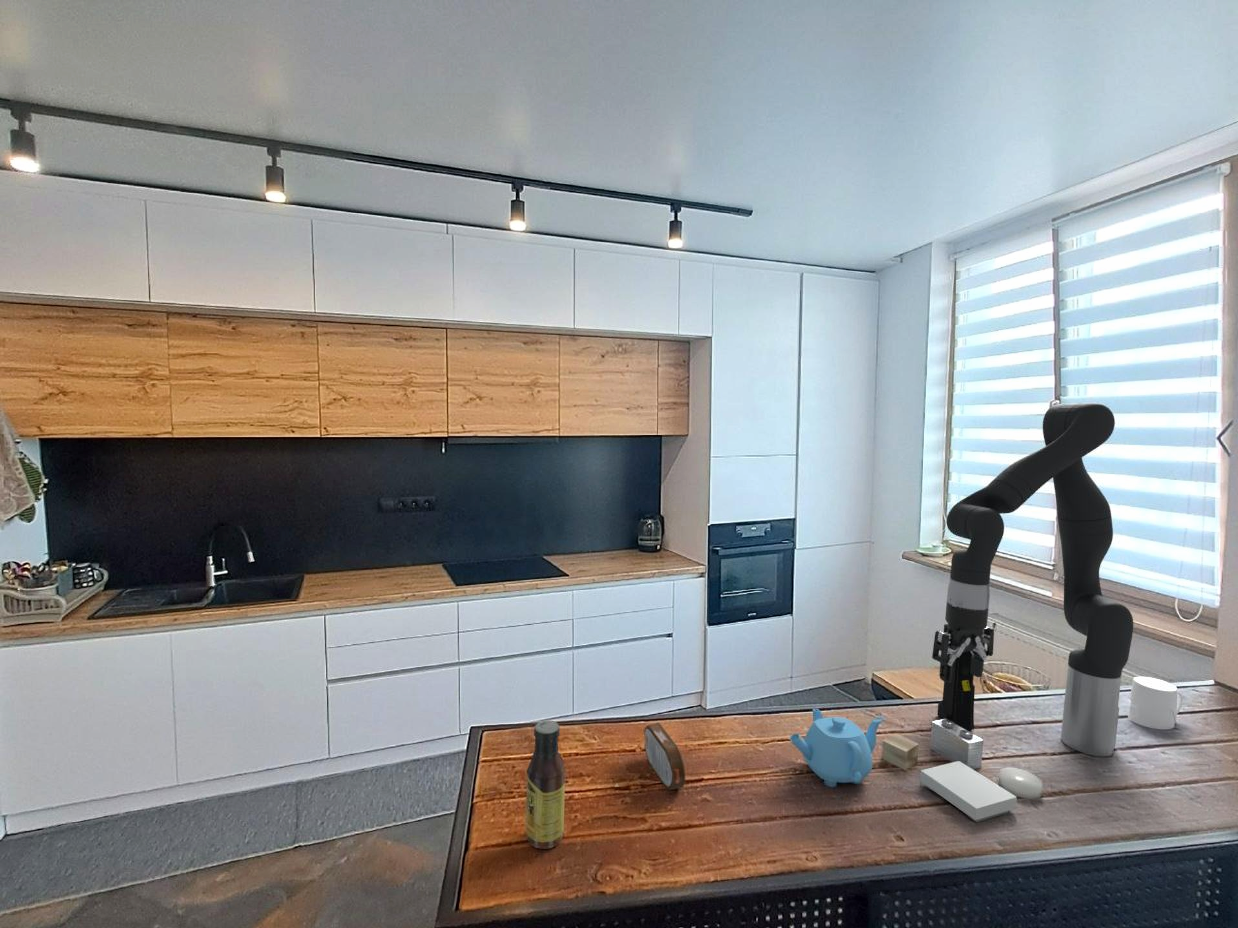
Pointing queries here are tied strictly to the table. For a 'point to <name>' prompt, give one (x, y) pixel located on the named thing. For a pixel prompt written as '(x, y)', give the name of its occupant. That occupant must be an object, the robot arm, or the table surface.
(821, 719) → the teapot
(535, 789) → the sauce bottle
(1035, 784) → the glossy white pebble
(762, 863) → the table surface
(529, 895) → the table surface
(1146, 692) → the mug
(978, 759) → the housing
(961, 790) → the stand
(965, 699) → the portable radio
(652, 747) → the tin
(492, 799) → the table surface
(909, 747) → the oak block
